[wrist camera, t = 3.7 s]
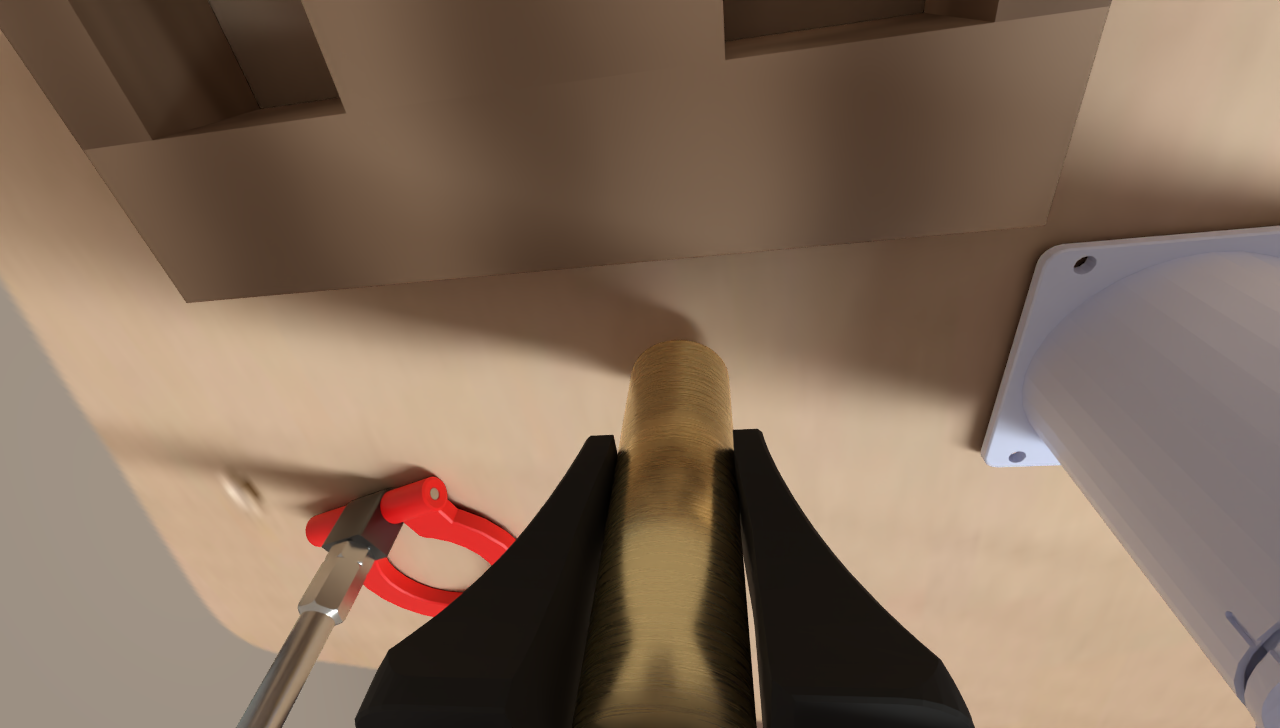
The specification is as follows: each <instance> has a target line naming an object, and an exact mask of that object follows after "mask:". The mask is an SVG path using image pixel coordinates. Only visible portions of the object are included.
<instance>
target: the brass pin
mask: <svg viewBox="0 0 1280 728" xmlns="http://www.w3.org/2000/svg"><path fill="white" fill-rule="evenodd" d="M572 728H757V726H756V713H755V701H754V688H753V675H752V663H751V650H750V638H749V625H748V612H747V600H746V587H745V575H744V562H743V549H742V537H741V524H740V512H739V500H738V491H737V485H736V475H735V462H734V448H733V423H732V411H731V398H730V386H729V375H728V371H727V368H726V366H725V364H724V362H723V361H722V359H721V358H720V357H719V356H718V355H717V354H716V353H715V352H714V351H713V350H711V349H710V348H708V347H706V346H704V345H702V344H700V343H697V342H693V341H688V340H670V341H665V342H661V343H659V344H656V345H654V346H652V347H650V348H649V349H647V350H646V351H645V352H643V353H642V354H641V355H640V356H639V358H638V359H637V361H636V362H635V364H634V366H633V369H632V373H631V379H630V385H629V391H628V397H627V403H626V409H625V415H624V421H623V426H622V432H621V438H620V444H619V450H618V456H617V462H616V468H615V474H614V480H613V486H612V492H611V498H610V503H609V509H608V515H607V521H606V527H605V533H604V539H603V545H602V551H601V557H600V563H599V569H598V575H597V580H596V586H595V592H594V598H593V604H592V610H591V616H590V622H589V628H588V634H587V640H586V646H585V651H584V657H583V663H582V669H581V675H580V681H579V687H578V693H577V699H576V705H575V711H574V717H573V723H572Z"/></svg>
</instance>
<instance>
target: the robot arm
mask: <svg viewBox="0 0 1280 728" xmlns="http://www.w3.org/2000/svg"><path fill="white" fill-rule="evenodd" d="M1086 256H1087V260H1086V261H1085V263H1083V264H1082V265H1081V266H1079V267H1076V268H1074V265H1075V264H1076V262H1077V261H1078V260H1080V259H1081V258H1083V257H1086ZM733 448H734V462H735V475H736V485H737V491H738V500H739V512H740V524H741V537H742V549H743V557H744V563H745V568H746V574H747V580H748V586H749V592H750V598H751V603H752V609H753V617H754V625H755V636H756V648H757V660H758V672H759V685H760V697H761V709H762V722H763V728H975V727H974V724H973V721H972V718H971V715H970V713H969V710H968V708H967V706H966V704H965V702H964V700H963V698H962V696H961V694H960V692H959V690H958V688H957V686H956V684H955V683H954V681H953V679H952V677H951V676H950V674H949V672H948V671H947V669H946V667H945V666H944V664H943V662H942V661H941V659H939V658H938V657H937V656H936V655H935V654H934V653H932V652H931V651H930V650H929V649H928V648H927V647H925V646H924V645H923V644H922V643H921V642H920V641H919V640H917V639H916V638H915V637H914V636H913V635H912V634H911V633H910V632H909V631H907V630H906V629H905V628H904V627H903V626H902V625H901V624H900V623H899V622H898V621H897V620H896V619H895V618H894V617H893V616H891V615H890V614H889V613H888V612H887V611H886V610H885V609H884V608H883V607H882V606H881V605H880V604H879V603H878V602H877V601H876V600H875V599H874V598H873V596H872V595H871V594H870V593H869V592H868V591H867V590H866V589H865V588H864V587H863V586H862V585H861V584H860V583H859V582H858V581H857V580H856V578H855V577H854V576H853V575H852V574H851V573H850V572H849V571H848V570H847V569H846V567H845V566H844V565H843V564H842V563H841V561H840V560H839V559H838V558H837V557H836V555H835V554H834V553H833V552H832V551H831V549H830V548H829V547H828V545H827V544H826V543H825V542H824V540H823V539H822V538H821V536H820V535H819V534H818V532H817V531H816V530H815V528H814V527H813V526H812V524H811V523H810V521H809V520H808V518H807V517H806V515H805V514H804V512H803V511H802V509H801V508H800V506H799V505H798V503H797V502H796V500H795V499H794V497H793V495H792V494H791V492H790V490H789V488H788V487H787V485H786V483H785V482H784V480H783V478H782V476H781V475H780V473H779V471H778V469H777V467H776V465H775V463H774V461H773V459H772V457H771V455H770V452H769V450H768V448H767V445H766V443H765V440H764V437H763V434H762V432H761V431H760V430H758V429H743V430H733ZM1014 452H1016V453H1014ZM1012 453H1014V454H1012ZM617 456H618V454H617V449H616V445H615V440H614V435H599V436H590V437H589V438H588V439H587V440H586V442H585V444H584V445H583V447H582V449H581V450H580V452H579V454H578V455H577V457H576V459H575V460H574V462H573V463H572V465H571V466H570V468H569V470H568V471H567V473H566V474H565V476H564V477H563V479H562V480H561V482H560V483H559V484H558V486H557V487H556V489H555V490H554V492H553V493H552V495H551V496H550V497H549V499H548V500H547V502H546V503H545V504H544V506H543V507H542V508H541V509H540V511H539V512H538V513H537V515H536V516H535V517H534V519H533V520H532V521H531V522H530V524H529V525H528V526H527V527H526V529H525V530H524V531H523V532H522V533H521V535H520V536H519V537H518V538H517V539H516V540H515V542H514V543H513V544H512V545H511V546H510V547H509V548H508V549H507V550H506V551H505V553H504V554H503V555H502V556H501V557H500V558H499V559H498V560H497V561H496V562H495V563H494V564H493V565H492V566H491V567H490V568H489V569H488V570H487V571H486V572H485V573H484V574H483V575H482V576H481V577H480V578H479V579H478V580H477V581H476V582H474V583H473V584H472V585H471V586H470V587H469V588H468V589H467V590H466V591H464V592H463V593H462V594H461V595H460V596H459V597H457V598H456V599H455V600H454V601H453V602H452V603H450V604H449V605H448V606H447V607H446V608H445V609H443V610H442V611H441V612H440V613H438V614H437V615H436V616H435V617H433V618H432V619H431V620H430V621H428V622H427V623H426V624H424V625H423V626H421V627H420V628H419V629H417V630H416V631H415V632H413V633H412V634H410V635H409V636H408V637H406V638H405V639H404V640H402V641H401V642H400V643H398V644H397V645H395V646H394V647H392V648H391V649H389V651H388V652H387V654H386V656H385V658H384V660H383V661H382V663H381V665H380V667H379V668H378V670H377V672H376V674H375V677H374V679H373V681H372V683H371V685H370V687H369V689H368V692H367V694H366V696H365V698H364V700H363V702H362V705H361V707H360V709H359V711H358V713H357V716H356V718H355V726H356V728H572V723H573V717H574V711H575V705H576V699H577V693H578V687H579V681H580V675H581V669H582V663H583V657H584V651H585V646H586V640H587V634H588V628H589V622H590V616H591V610H592V604H593V598H594V592H595V586H596V580H597V575H598V569H599V563H600V557H601V551H602V545H603V539H604V533H605V527H606V521H607V515H608V509H609V503H610V498H611V492H612V486H613V480H614V474H615V468H616V462H617ZM981 456H982V458H983V459H984V461H985V463H986V464H987V465H989V466H991V467H1018V466H1048V465H1062V467H1063V468H1064V469H1065V471H1066V472H1067V473H1068V474H1069V476H1070V477H1071V478H1072V480H1073V481H1074V482H1075V484H1076V485H1077V486H1078V488H1079V489H1080V490H1081V492H1082V493H1083V494H1084V496H1085V497H1086V498H1087V500H1088V501H1089V502H1090V503H1091V505H1092V506H1093V507H1094V509H1095V510H1096V511H1097V513H1098V514H1099V515H1100V517H1101V518H1102V519H1103V521H1104V522H1105V523H1106V525H1107V526H1108V527H1109V528H1110V530H1111V531H1112V532H1113V534H1114V535H1115V536H1116V538H1117V539H1118V540H1119V542H1120V543H1121V544H1122V546H1123V547H1124V548H1125V550H1126V551H1127V552H1128V554H1129V555H1130V556H1131V557H1132V559H1133V560H1134V561H1135V563H1136V564H1137V565H1138V567H1139V568H1140V569H1141V571H1142V572H1143V573H1144V575H1145V576H1146V577H1147V579H1148V580H1149V581H1150V582H1151V584H1152V585H1153V586H1154V588H1155V589H1156V590H1157V592H1158V593H1159V594H1160V596H1161V597H1162V598H1163V600H1164V601H1165V602H1166V604H1167V605H1168V606H1169V608H1170V609H1171V610H1172V611H1173V613H1174V614H1175V615H1176V617H1177V618H1178V619H1179V621H1180V622H1181V623H1182V625H1183V626H1184V627H1185V629H1186V630H1187V631H1188V633H1189V634H1190V635H1191V636H1192V638H1193V639H1194V640H1195V642H1196V643H1197V644H1198V646H1199V647H1200V648H1201V650H1202V651H1203V652H1204V654H1205V655H1206V656H1207V658H1208V659H1209V660H1210V662H1211V663H1212V664H1213V665H1214V667H1215V668H1216V669H1217V671H1218V672H1219V673H1220V675H1221V676H1222V677H1223V679H1224V680H1225V681H1226V683H1227V684H1228V685H1229V687H1230V688H1231V689H1232V690H1233V692H1234V693H1235V694H1236V696H1237V697H1238V698H1239V699H1240V700H1241V702H1242V703H1243V704H1244V705H1245V706H1246V708H1247V709H1248V711H1249V712H1250V714H1251V716H1252V717H1253V719H1254V721H1255V723H1256V728H1280V226H1269V227H1257V228H1245V229H1234V230H1222V231H1210V232H1198V233H1187V234H1175V235H1163V236H1151V237H1140V238H1128V239H1116V240H1105V241H1093V242H1081V243H1069V244H1061V245H1057V246H1054V247H1052V248H1050V249H1048V250H1046V251H1045V252H1044V253H1043V254H1042V255H1041V256H1040V258H1039V260H1038V262H1037V264H1036V268H1035V271H1034V274H1033V278H1032V281H1031V284H1030V288H1029V291H1028V294H1027V298H1026V301H1025V304H1024V308H1023V311H1022V314H1021V318H1020V321H1019V325H1018V328H1017V331H1016V335H1015V338H1014V341H1013V345H1012V348H1011V351H1010V355H1009V358H1008V361H1007V365H1006V368H1005V371H1004V375H1003V378H1002V381H1001V385H1000V388H999V392H998V395H997V398H996V402H995V405H994V408H993V412H992V415H991V418H990V422H989V425H988V428H987V432H986V435H985V438H984V442H983V445H982V448H981Z"/></svg>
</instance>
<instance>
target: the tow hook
mask: <svg viewBox="0 0 1280 728" xmlns="http://www.w3.org/2000/svg"><path fill="white" fill-rule="evenodd" d="M403 523H405V524H406V525H408V526H409V527H410V528H411V529H412V530H414V531H415V532H416V533H417V534H418V535H419V536H422V537H425V538H435V539H439V540H444V541H449V542H452V543H455V544H458V545H460V546H463V547H466V548H468V549H470V550H471V551H473V552H475V553H477V554H479V555H480V556H482V557H483V558H484V559H485V560H486V561H488V562H489V563H490V564H491V565H493V564H494V563H495V562H496V561H497V560H498V559H499V558H500V557H501V556H502V555H503V554H504V553H505V551H506V550H507V549H508V548H509V547H510V546H511V545H512V544H513V543H514V542H515V540H516V539H515V538H513V537H512V536H511V535H510V534H509V533H508V532H507V531H505V530H504V529H502V528H500V527H499V526H497V525H495V524H493V523H492V522H490V521H488V520H487V519H484V518H482V517H479V516H477V515H474V514H471V513H469V512H466V511H464V510H460V509H457V508H456V507H455V506H454V505H453V504H452V503H451V502H450V501H449V500H448V499H447V490H446V487H445V485H444V483H443V482H442V481H441V480H440V479H439V478H437V477H429V478H426V479H423V480H420V481H417V482H414V483H411V484H408V485H405V486H402V487H399V488H396V489H386V490H383V491H380V492H377V493H374V494H371V495H368V496H365V497H362V498H359V499H356V500H353V501H351V502H350V503H348V504H347V505H346V506H343V507H340V508H337V509H334V510H331V511H328V512H325V513H322V514H319V515H316V516H314V517H312V518H311V519H310V520H309V521H308V523H307V525H306V536H307V539H308V541H309V542H310V543H311V544H312V545H314V546H317V547H322V548H324V549H325V550H326V551H328V554H327V556H326V558H325V561H324V562H323V563H322V565H321V566H320V568H319V570H318V571H317V573H316V575H315V576H314V578H313V580H312V581H311V583H310V585H309V587H308V588H307V590H306V592H305V593H304V595H303V597H302V599H301V600H300V602H299V604H298V611H299V613H300V616H299V618H298V620H297V622H296V623H295V625H294V627H293V629H292V630H291V632H290V634H289V636H288V637H287V639H286V641H285V643H284V644H283V646H282V648H281V650H280V651H279V653H278V655H277V657H276V658H275V660H274V662H273V664H272V665H271V667H270V669H269V671H268V672H267V674H266V676H265V678H264V679H263V681H262V683H261V685H260V686H259V688H258V690H257V692H256V693H255V695H254V697H253V699H252V700H251V702H250V704H249V706H248V707H247V709H246V711H245V713H244V714H243V716H242V718H241V720H240V722H239V723H238V725H237V727H236V728H282V727H283V725H284V723H285V721H286V719H287V717H288V715H289V713H290V711H291V709H292V707H293V705H294V703H295V701H296V699H297V697H298V695H299V693H300V691H301V690H302V688H303V686H304V684H305V682H306V680H307V678H308V676H309V674H310V672H311V670H312V668H313V666H314V664H315V662H316V660H317V658H318V656H319V654H320V653H321V651H322V649H323V647H324V645H325V643H326V641H327V639H328V637H329V635H330V633H331V631H332V629H333V627H334V626H335V625H338V624H340V623H342V622H343V621H344V620H345V619H346V617H347V615H348V613H349V611H350V609H351V607H352V605H353V603H354V601H355V599H356V597H357V595H358V593H359V591H360V589H361V587H362V585H364V586H365V587H366V588H368V589H369V590H371V591H372V592H374V593H375V594H377V595H378V596H380V597H381V598H383V599H385V600H387V601H389V602H391V603H393V604H395V605H397V606H399V607H402V608H404V609H407V610H410V611H413V612H416V613H420V614H423V615H427V616H432V617H435V616H436V615H437V614H438V613H440V612H441V611H442V610H443V609H445V608H446V607H447V606H448V605H449V604H450V603H452V602H453V601H454V600H455V599H456V598H457V597H459V596H460V595H461V594H462V593H463V592H450V591H444V590H440V589H435V588H432V587H429V586H426V585H423V584H420V583H418V582H416V581H414V580H412V579H410V578H408V577H406V576H404V575H403V574H402V573H400V572H399V571H398V570H396V569H395V568H394V567H393V566H392V565H391V564H390V562H389V561H388V559H387V556H388V554H389V552H390V550H391V548H392V546H393V544H394V541H395V539H396V537H397V535H398V533H399V531H400V529H401V527H402V525H403Z"/></svg>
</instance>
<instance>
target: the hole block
mask: <svg viewBox="0 0 1280 728" xmlns="http://www.w3.org/2000/svg"><path fill="white" fill-rule="evenodd" d="M1111 1H1112V0H925V6H924V13H919V14H912V15H905V16H898V17H891V18H884V19H877V20H870V21H864V22H857V23H850V24H843V25H836V26H829V27H822V28H815V29H808V30H801V31H795V32H788V33H781V34H774V35H767V36H760V37H753V38H746V39H739V40H732V41H726V42H724V16H723V0H301V2H302V5H303V7H304V10H305V12H306V15H307V17H308V20H309V22H310V24H311V27H312V29H313V32H314V34H315V37H316V39H317V42H318V44H319V47H320V49H321V52H322V54H323V57H324V59H325V62H326V64H327V67H328V69H329V72H330V74H331V77H332V79H333V82H334V84H335V86H336V89H337V91H338V94H339V96H340V97H339V98H332V99H325V100H319V101H312V102H305V103H298V104H291V105H284V106H277V107H270V108H263V109H260V108H259V106H258V104H257V102H256V100H255V97H254V95H253V93H252V91H251V89H250V87H249V85H248V83H247V81H246V79H245V77H244V75H243V73H242V71H241V68H240V66H239V64H238V62H237V60H236V58H235V56H234V54H233V52H232V50H231V48H230V46H229V44H228V42H227V40H226V37H225V35H224V33H223V31H222V29H221V27H220V25H219V23H218V21H217V19H216V17H215V15H214V13H213V11H212V9H211V6H210V4H209V2H208V0H0V29H1V30H2V32H3V33H4V35H5V36H6V38H7V39H8V41H9V42H10V43H11V45H12V46H13V48H14V49H15V51H16V52H17V54H18V55H19V57H20V58H21V60H22V61H23V63H24V64H25V66H26V67H27V69H28V70H29V71H30V73H31V74H32V76H33V77H34V79H35V80H36V82H37V83H38V85H39V86H40V88H41V89H42V91H43V92H44V94H45V95H46V97H47V98H48V99H49V101H50V102H51V104H52V105H53V107H54V108H55V110H56V111H57V113H58V114H59V116H60V117H61V119H62V120H63V122H64V123H65V125H66V126H67V127H68V129H69V130H70V132H71V133H72V135H73V136H74V138H75V139H76V141H77V142H78V144H79V145H80V147H81V148H82V150H83V151H84V153H85V154H86V155H87V157H88V158H89V160H90V161H91V163H92V164H93V166H94V167H95V169H96V170H97V172H98V173H99V175H100V176H101V178H102V179H103V181H104V182H105V183H106V185H107V186H108V188H109V189H110V191H111V192H112V194H113V195H114V197H115V198H116V200H117V201H118V203H119V204H120V206H121V207H122V209H123V210H124V211H125V213H126V214H127V216H128V217H129V219H130V220H131V222H132V223H133V225H134V226H135V228H136V229H137V231H138V232H139V234H140V235H141V236H142V238H143V239H144V241H145V242H146V244H147V245H148V247H149V248H150V250H151V251H152V253H153V254H154V256H155V257H156V259H157V260H158V262H159V263H160V264H161V266H162V267H163V269H164V270H165V272H166V273H167V275H168V276H169V278H170V279H171V281H172V282H173V284H174V285H175V287H176V288H177V290H178V291H179V292H180V294H181V295H182V297H183V298H184V300H185V301H186V303H191V302H202V301H214V300H225V299H236V298H247V297H258V296H269V295H280V294H291V293H302V292H314V291H325V290H336V289H347V288H358V287H369V286H380V285H391V284H402V283H414V282H425V281H436V280H447V279H458V278H469V277H480V276H491V275H503V274H514V273H525V272H536V271H547V270H558V269H569V268H580V267H591V266H603V265H614V264H625V263H636V262H647V261H658V260H669V259H680V258H691V257H703V256H714V255H725V254H736V253H747V252H758V251H769V250H780V249H791V248H803V247H814V246H825V245H836V244H847V243H858V242H869V241H880V240H891V239H903V238H914V237H925V236H936V235H947V234H958V233H969V232H980V231H992V230H1003V229H1014V228H1025V227H1036V226H1045V225H1046V221H1047V218H1048V215H1049V211H1050V208H1051V204H1052V201H1053V198H1054V194H1055V191H1056V187H1057V184H1058V181H1059V177H1060V174H1061V171H1062V167H1063V164H1064V160H1065V157H1066V154H1067V150H1068V147H1069V143H1070V140H1071V137H1072V133H1073V130H1074V127H1075V123H1076V120H1077V116H1078V113H1079V110H1080V106H1081V103H1082V99H1083V96H1084V93H1085V89H1086V86H1087V83H1088V79H1089V76H1090V72H1091V69H1092V66H1093V62H1094V59H1095V55H1096V52H1097V49H1098V45H1099V42H1100V39H1101V35H1102V32H1103V28H1104V25H1105V22H1106V18H1107V15H1108V12H1109V8H1110V5H1111Z"/></svg>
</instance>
